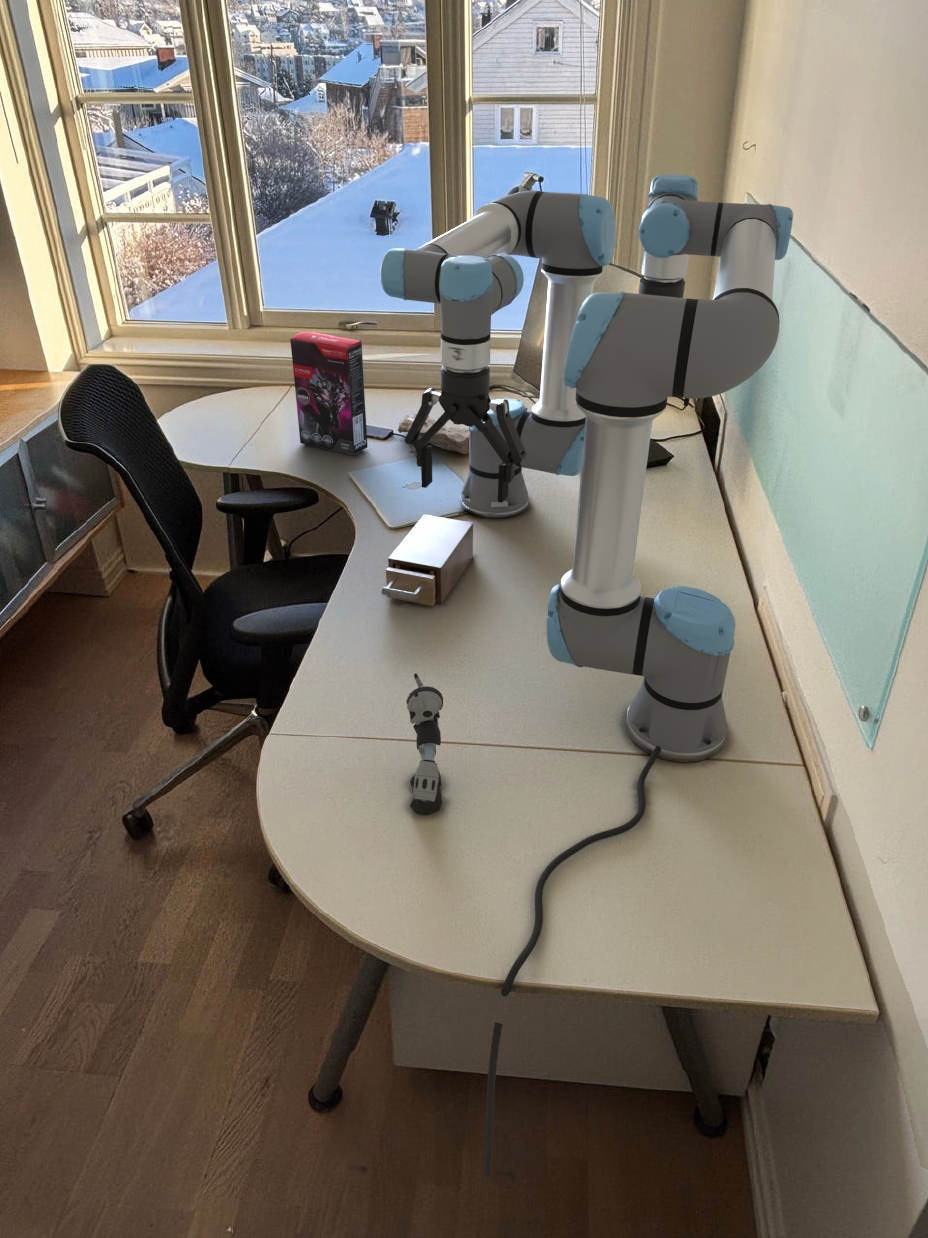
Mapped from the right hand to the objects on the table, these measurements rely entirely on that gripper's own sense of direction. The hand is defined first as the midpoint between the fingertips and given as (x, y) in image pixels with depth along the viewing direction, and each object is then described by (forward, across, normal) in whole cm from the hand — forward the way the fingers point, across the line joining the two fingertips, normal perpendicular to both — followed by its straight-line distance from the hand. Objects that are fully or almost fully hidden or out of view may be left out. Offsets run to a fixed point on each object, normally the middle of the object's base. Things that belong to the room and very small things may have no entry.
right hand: (647, 399), depth 166 cm
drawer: (+34, +37, +20) cm, 54 cm away
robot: (+35, +20, +72) cm, 83 cm away
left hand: (+8, +26, +30) cm, 40 cm away
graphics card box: (+34, +79, -38) cm, 94 cm away
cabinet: (+35, +36, +14) cm, 52 cm away
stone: (+34, +55, -48) cm, 80 cm away
